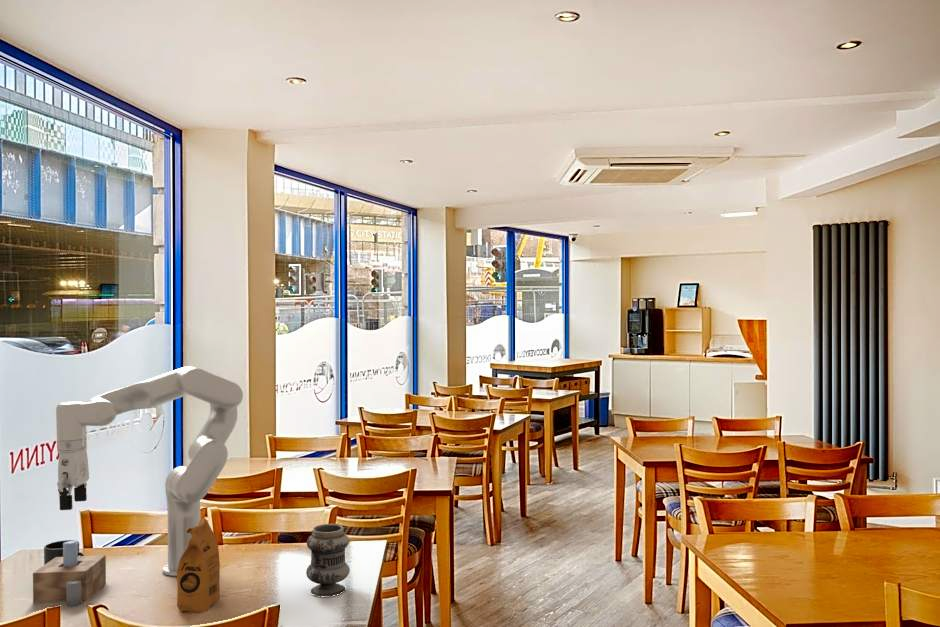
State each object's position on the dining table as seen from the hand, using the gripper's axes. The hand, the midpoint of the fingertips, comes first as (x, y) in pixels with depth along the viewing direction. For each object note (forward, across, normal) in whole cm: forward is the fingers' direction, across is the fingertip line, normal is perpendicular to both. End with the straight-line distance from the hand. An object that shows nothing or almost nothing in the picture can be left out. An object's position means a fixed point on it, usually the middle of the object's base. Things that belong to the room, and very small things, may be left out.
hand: (73, 505), depth 219 cm
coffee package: (+25, -15, -38) cm, 48 cm away
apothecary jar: (+26, -10, -72) cm, 77 cm away
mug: (+25, +15, +9) cm, 30 cm away
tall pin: (+24, -1, +1) cm, 24 cm away
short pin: (+24, -11, -4) cm, 27 cm away
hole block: (+24, -1, +1) cm, 24 cm away
